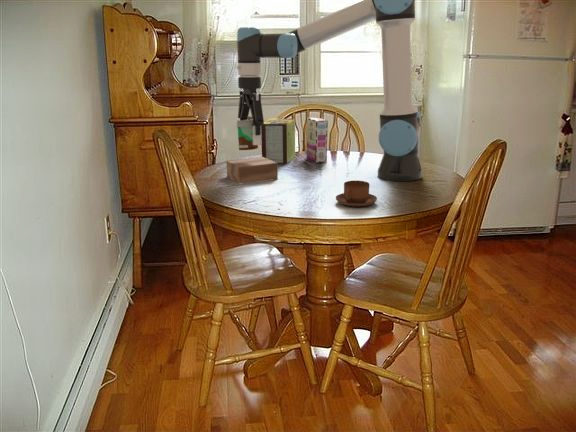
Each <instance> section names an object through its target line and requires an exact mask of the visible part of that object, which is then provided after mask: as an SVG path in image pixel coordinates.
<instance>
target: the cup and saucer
mask: <svg viewBox="0 0 576 432" xmlns="http://www.w3.org/2000/svg"><path fill="white" fill-rule="evenodd" d="M335 200H336V201H337V202H338V203H339V204H340V205H344V206H347V207H353V208H354V207H357V208H358V207H360V208H361V207H367V206H371V205H374V204H375V202H377V200H378V197H377V196H376V195H374V194H372V193H370V183H369V182H367V181H365V180H346V181H345V182H344V183H343V192H342V193H340V194H337V195H336V196H335Z"/></svg>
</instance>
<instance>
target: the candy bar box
mask: <svg viewBox="0 0 576 432" xmlns="http://www.w3.org/2000/svg"><path fill="white" fill-rule="evenodd" d="M328 125H329V124H328V120H326V119H324V118H320V117H307V119H306V159H307V160H309V161H311V162H314V163H316V164H320V163H321V164H323V163H327V162H328Z"/></svg>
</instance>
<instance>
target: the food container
mask: <svg viewBox="0 0 576 432" xmlns="http://www.w3.org/2000/svg"><path fill="white" fill-rule="evenodd" d="M252 124H253V119H252V115H251V116H250V115H248V116H247V120H242V121H240V120H237V122H236V128H237V137H238V138H237V139H238V150H239V151H252V150H256V149H258V148H259V145H253V126H252Z"/></svg>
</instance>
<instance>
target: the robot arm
mask: <svg viewBox="0 0 576 432" xmlns="http://www.w3.org/2000/svg"><path fill="white" fill-rule="evenodd" d="M374 21H375V23H376V24H377V26H379V27H380V29H381V30H380V31H381V57H382V58H381V59H382V84H383V85H382V87H383V109H381V111H379V132H378V144H379V145H380V148H381V149H382V151H383V155H382V158H381V160H380V164H379V166H378V168H377V177H379V178H380V179H382V180H386V181H393V182H394V181H395V182H411V181H412V182H413V181H417V180H421V179H422V177H423V176H422V175H423V170H422V166H421V162H420V158H419V144H420V143H419V142H420V140H419V138H420V126H421V113H420V111H419V110H417V109H416V108H415V107H413V104H412V103H413V101H412V100H413V97H412V95H413V93H412V56H411V55H412V54H411V53H412V52H411V51H412V50H411V48H412V47H411V25H412V23H414V21H416V0H358V1H356V2H354V3H351V4H350V5H347V6H345V7H343V8H339V9H337V10H336V11H333V12H332V13H329V14H327V15H325V16H323V17H320V18H318V19H316V20H314V21H312V22H310V23H306V24H305V25H302V26H301V27H298V28H296V29H293V30H291V31H289V32H287V33H286V32H284V33H281V32H280V33H262V32H261V29H260V28H259V27H256V26H255V27H254V26H253V27H252V26H251V27H249V26H247V27H239V28H238V29H237V33H236V35H237V36H236V40H237V41H236V46H237V47H236V48H237V49H236V50H237V66H236V69H237V74H238V78H237V82H238V83H237V84H238V88H239V89H240V90H239V100H238V113H237V118H238V119H239V121H242V120H247V116H250V115H249V114H251V116H252V119H253V124H252V126H253V145H258V146H262V142H261V125H262V124H264V122H265V120H264V114H263V105H262V94H261V93H258V92H257V90H258V89H261V87H262V78H261V77H260V76H261V74H262V63H261V62H262V60H261V59H262V58H263V59H265V58H268V59H270V58H271V59H274V58H277V59H292V58H295V57H296V56H297V55H299V54H300V53H302V52H304V51H306V50H309V49H311V48H313V47H315V46H318V45H320V44H322V43H325V42H327V41H329V40H332V39H334V38H337V37H339V36H342V35H343V34H345V33H348V32H351V31H353V30H355V29H357V28H360V27H362V26H364V25H367V24H369V23H371V22H374Z"/></svg>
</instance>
